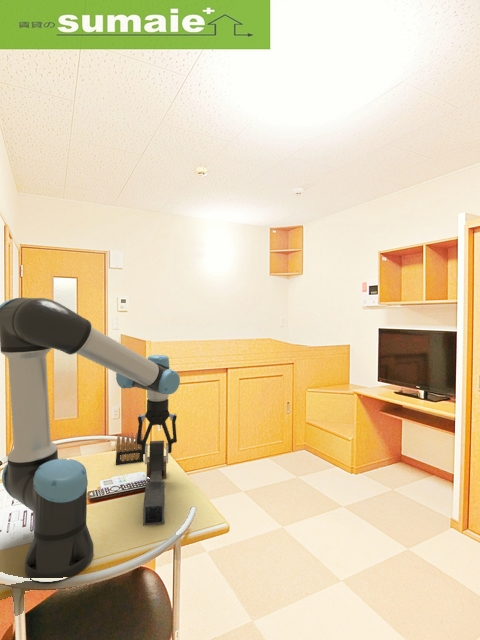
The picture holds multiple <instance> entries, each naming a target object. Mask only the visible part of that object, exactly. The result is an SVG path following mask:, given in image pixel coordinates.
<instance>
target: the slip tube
mask: <svg viewBox="0 0 480 640" xmlns="http://www.w3.org/2000/svg"><path fill="white" fill-rule="evenodd" d="M148 454H149V456H148V457H149V471H151V475H150V479H149V482H161V481H163V479H162V471H164V456H165V440H149V452H148Z"/></svg>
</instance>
